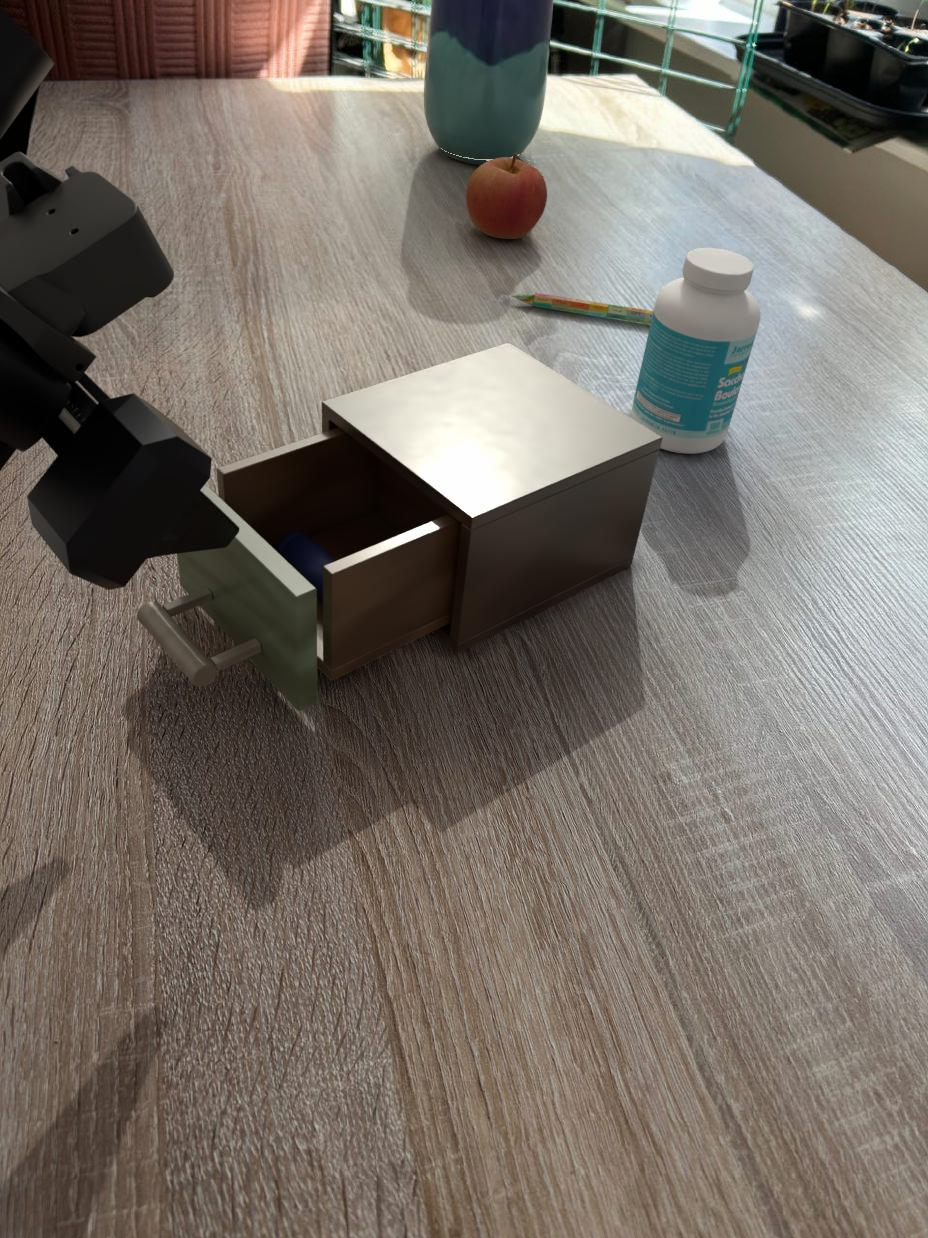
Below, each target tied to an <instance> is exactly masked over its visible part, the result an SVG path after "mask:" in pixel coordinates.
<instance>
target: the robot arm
mask: <svg viewBox="0 0 928 1238" xmlns="http://www.w3.org/2000/svg"><path fill="white" fill-rule="evenodd" d="M54 65H55V62H54V61H53V59H52V58H51V56H50V55H49V54H48V53H47V52H46V51H45V49H44V48H43V47H42V46H40V44H39V43H38V42H37V41H36V40H35V39H34V38H33V37H32V36H31V35H30V34H29V33H28V32H27V31H26V29H24V28H23V27H21V25H20V24H18V22H17V21H16V20H15V19H13V18H12V16H10V15H9V14H8V13H7V12H6V11H5V10H4V9H3V8H2V7H0V140H1V139H2V138H3V136H4V134H5V133H6V132H7V130H9V128H10V126H11V125H12V124H13V122H14V121H15V120H16V118H17V117H18V115H19V114H20V112H21V111H22V110H23V108H24V107H25V106H26V104H27V103H28V102H29V100H30V98H31V97H32V96H33V95H34V93H35V92H36V90H37V89H39V86H40V85H41V84H42V83H43V81H44V79H45V78H46V77H47V75H48V74H49V73H50V71H51V70H52V68H53V67H54ZM64 172H65V174H66V176H67V179H64V178H63V179H62V178H61V177H59V176H58V175H57V174H55V173H54V172H53V171H51V170H50V169H48V168H46V167H45V166H43V165H42V164H41V163H39V162H37V161H35V160H34V159H33V158H31V157H29V156H28V155H26V154H24V153H23V152H21V151H16V152H14V153H12V154H11V155H9V156H7V157H6V158H5V159H3V160H1V161H0V471H1V470H2V469H3V468H4V466H5V465H6V464H7V463H8V462H9V461H10V459H11V457H12V456H13V455H14V454H15V452H16V451H20V452H22V453H24V452H26V451H29V449H31V448H32V447H33V446H35V445H36V444H37V443H38V442H39V441H41V439H43V441H44V442H45V443H46V444H47V445H48V446H49V448H50V449H51V450H52V451H53V452H54V453H55V454H56V457H55V459H54V460H53V462H52V463H51V464H50V465H49V466H48V468H47V470H45V472H44V473H43V475H42V476H41V477H40V478H39V480H38V481H37V482H36V484H34V486H33V487H32V489H31V490H30V491H29V493H28V494H27V495H26V499H27V505H28V511H29V516H30V520H31V526H32V527H33V529H35V531H36V532H37V534H38V535H39V536H40V537H41V539H42V540H43V541H44V542H45V544H46V545H47V546H48V547H49V549H50V550H51V551H52V553H53V554H54V555H55V556H56V558H57V559H58V561H60V563H61V565H63V567H64V568H65V569H66V571H67V572H68V573H69V574H70V575H72V576H75V577H76V578H79V579H81V580H84V581H86V582H88V583H91V584H93V585H96V586H98V587H100V588H103V589H105V590H107V591H112V590H117V589H120V588H121V589H122V588H125V587H126V586H127V585H128V584H129V582H130V581H131V580H132V578H133V577H134V576H135V575H136V573H137V572H138V571H139V569H140V568H141V567H142V566H143V565H144V563H145V562H146V561H147V560H148V559H149V560H150V559H152V558H158V557H164V556H171V555H177V554H179V553H187V552H195V551H203V550H211V549H219V548H225V547H227V546H228V545H229V544H230V543H231V542H232V540H233V539H234V538H235V536H236V535H237V534H238V532H239V527H238V526H237V525H236V524H235V523H234V522H233V521H232V520H231V519H230V518H229V517H228V516H227V515H226V514H225V513H224V512H223V511H222V510H221V509H220V508H219V507H218V506H217V505H216V504H215V503H214V502H212V501H211V500H210V499H209V498H208V497H207V496H206V495H205V494H204V493H203V492H202V491H201V489H202V487H203V486H204V485H205V484H206V485H207V482H208V481H209V480H210V479H211V472H212V460H213V458H212V457H211V456H210V454H208V453H207V452H206V451H205V450H204V449H203V448H202V447H201V446H200V445H199V444H198V443H197V442H196V441H195V440H194V439H193V438H192V437H191V436H190V435H189V434H188V433H187V432H185V431H184V430H183V428H181V426H180V425H179V424H177V423H176V422H175V421H174V420H172V419H171V418H169V417H168V416H167V415H166V414H164V413H163V412H162V411H160V410H159V409H158V408H156V406H154V405H153V404H151V403H150V402H148V401H146V400H145V399H143V398H142V397H140V396H139V395H137V394H135V393H134V392H133V393H127V394H124V395H120V396H115V397H112V398H111V397H110V395H108V393H106V392H105V391H104V390H103V389H102V388H101V387H100V386H99V385H98V384H97V383H96V382H95V381H94V380H93V379H92V378H91V377H90V376H89V375H88V374H87V373H86V372H87V371H88V369H89V367H90V366H91V365H92V364H93V362H94V361H95V359H96V358H97V356H96V354H95V353H94V352H93V351H92V350H91V349H90V348H89V347H88V346H87V345H85V344H84V343H82V342H80V340H78V339H76V338H82V337H83V338H84V337H87V336H89V335H92V334H94V333H96V332H98V331H100V330H101V329H103V328H104V327H106V326H107V325H108V324H110V323H112V321H114V320H115V319H117V318H119V317H120V316H121V315H123V314H124V313H127V311H128V310H130V309H131V308H133V307H134V306H136V305H137V304H139V303H140V302H141V301H143V300H144V299H146V298H151V299H154V298H155V297H158V296H159V295H160V294H161V293H163V292H164V291H166V290H167V289H168V288H169V286H170V285H171V283H172V282H173V281H174V277H175V271H174V269H173V267H172V266H171V264H170V262H169V260H168V258H167V256H166V255H165V253H164V251H163V249H162V247H161V245H160V244H159V242H158V240H157V238H156V237H155V235H154V232H153V231H152V229H151V227H150V226H149V224H148V222H147V220H146V218H145V216H144V214H143V212H142V211H141V209H140V207H139V205H138V204H137V201H136V200H134V199H133V198H132V197H130V196H129V195H128V194H127V193H126V192H124V191H123V190H122V189H120V188H119V187H118V186H116V185H115V184H113V183H112V182H111V181H110V180H109V179H108V178H106V177H105V176H104V175H103V174H100V172H96V171H83V172H82V171H81V170H80V169H78V168H77V167H76V166H74V165H70V166H69V167H67V168H65V170H64Z"/></svg>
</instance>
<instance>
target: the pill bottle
mask: <svg viewBox="0 0 928 1238" xmlns="http://www.w3.org/2000/svg"><path fill="white" fill-rule="evenodd" d="M754 271H755V267H754V264H753V262H752V261H751V260H750V259H749V258H747V257H746V256H744V255H742V254H739V253H737V252H734V251H731V250H727V249H723V248H715V247H697V248H694V249H691V250H689V251H688V252H686V255H685V258H684V261H683V266H682V269H681V272H682V277H679V278H676V279H673V280H671V281H670V282H668V283H666V284H665V285H664V286H663V287H662V288H661V289H660V291H659V292H658V294H657V295H656V298H655V302H654V307H653V310H652V311H653V314H652V319H651V324H649V328H648V333H647V337H646V342H645V347H644V352H643V355H642V361H641V365H640V370H639V373H638V377H637V378H638V379H637V382H636V387H635V392H634V396H633V401H632V404H631V411H630V417H631V418H632V419H634V420H635V421H637V422H639V423H640V424H642V425H644V426H645V427H647V428H648V429H650V430H652V431H653V432H655V433H657V434H658V435H660V436H661V437H663V439H662V443H661V447H660V450H661V449H662V450H665V451H668V452H672V453H673V452H674V453H678V454H685V455H686V454H688V455H689V454H690V455H691V454H693V455H694V454H695V455H696V454H703V453H707V452H709V451H712V450H714V449H716V448H718V447H719V446H720V445H721V444H722V443H724V441H725V439H726V437H727V434H728V432H729V428H730V424H731V423H732V418H733V414H734V413H735V408H736V404H737V401H738V397H739V394H740V390H741V388H742V385H743V380H744V377H745V374H746V370H747V366H748V363H749V359H750V356H751V352H752V349H753V346H754V343H755V340H756V337H757V333H758V329H759V327H760V321H761V309H760V306H759V303H758V302H757V300H756V298H755V297H754V296H753V295H752V294H751V293H750V292H749V291H748V290H747V289H748V288H749V286H750V285H751V281H752V277H753V273H754Z"/></svg>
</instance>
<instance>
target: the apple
mask: <svg viewBox="0 0 928 1238" xmlns="http://www.w3.org/2000/svg"><path fill="white" fill-rule="evenodd" d="M517 155H518V154H517V153H516V152H515V153H514V156H513V158H510V157H501V158H496V159H493V160H490V161H487V162H486V163H484V164H482V165H478V167H477V168H476V169H475V170H474V171H473V173H472V174H471V175H470V177H469V180H468V182H467V186H466V191H465V202H466V209H467V212H468V215H469V218H470V220H471V221H472V223H473V225H474V226H475V227H476V228H477V230H479V231H480V232H481V233H483V234H484V235H487V236H490V237H493V238H497V239H504V240H505V239H506V240H517V239H520V238H523V237H524V236H525V235H527V234H529V232H531V231H532V230H533V229H534V228H535V226H536V225H537V224H538V222H539V221H540V219H541V218H542V216H543V214H544V212H545V209H546V207H547V206H546V205H547V200H548V188H547V183H546V181H545V177H544V176H543V174H542V173H541V172H540V171H539V170H538V169H537V168H536V167H534V166H533V165H531V164H529V163H527V162H525V161H522V160H521V159H517V158H518V157H517ZM516 157H517V158H516Z"/></svg>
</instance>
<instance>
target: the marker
mask: <svg viewBox="0 0 928 1238" xmlns="http://www.w3.org/2000/svg"><path fill="white" fill-rule="evenodd" d="M278 553H279V554H280V555H281V556H282V557H283V558H284V559H286V560H287V561H288V562H289V563H290V564H291V565H292V566H293V567H294V568H295V569H296V570H297V571H298V572H299V573H300V574H301V575H302V576H304V577H305V578H306V579H307V580H308V581H309V582H310V583H311V584H312V585H313V586H314V587H315V588H316V589H317V597H318V598H319V599H320V600H321V601H322V602H323V566H325V565H327V564H330V563H332V562H335V561H336V560H335V559H334V558H333V557H331V556H330V555H329V554H328V553H327V552H326V551H325V550H324V549H323V548H321V547H320V546H319V545H318V544H317V543H316V542H315V541H314V540H313V539H311V538H310V537H309V536H308V535H306V534H304V533H301V532H293V533H290V534H287V535H286V536H284V537H283V538H282V540H281V541H280V543H279V546H278Z"/></svg>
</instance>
